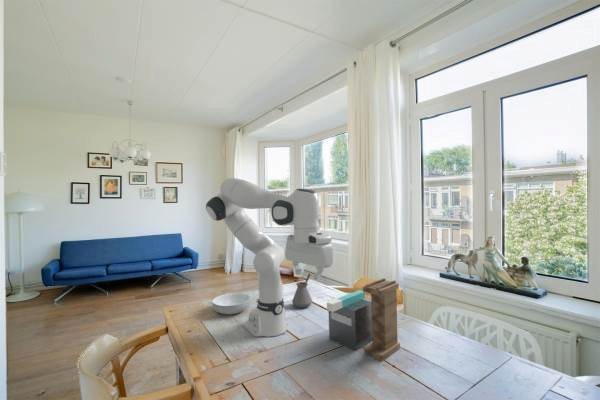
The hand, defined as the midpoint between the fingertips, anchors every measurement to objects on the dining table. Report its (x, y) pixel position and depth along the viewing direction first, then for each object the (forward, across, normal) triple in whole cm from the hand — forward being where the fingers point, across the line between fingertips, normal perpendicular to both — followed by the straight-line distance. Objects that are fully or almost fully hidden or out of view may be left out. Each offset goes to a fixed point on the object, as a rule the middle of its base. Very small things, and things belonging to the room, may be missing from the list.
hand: (307, 276), depth 95 cm
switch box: (+34, -6, +31) cm, 46 cm away
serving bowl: (+34, -72, +10) cm, 80 cm away
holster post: (+34, +8, +32) cm, 48 cm away
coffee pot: (+34, -52, +47) cm, 78 cm away
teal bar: (+18, -6, +28) cm, 34 cm away
